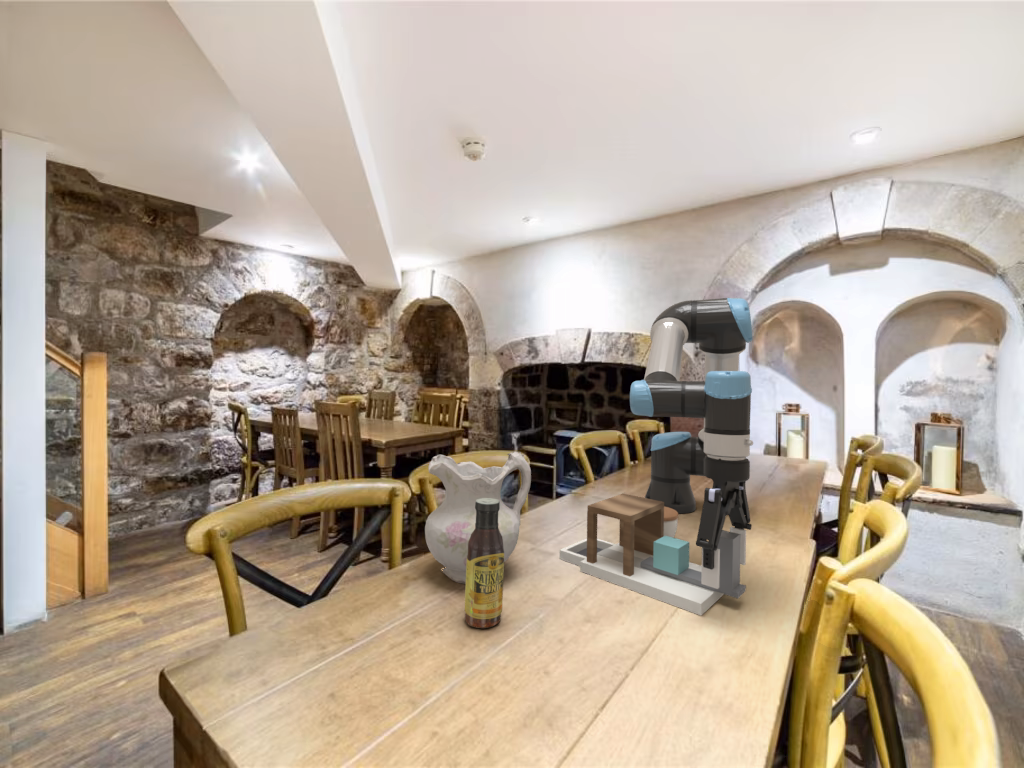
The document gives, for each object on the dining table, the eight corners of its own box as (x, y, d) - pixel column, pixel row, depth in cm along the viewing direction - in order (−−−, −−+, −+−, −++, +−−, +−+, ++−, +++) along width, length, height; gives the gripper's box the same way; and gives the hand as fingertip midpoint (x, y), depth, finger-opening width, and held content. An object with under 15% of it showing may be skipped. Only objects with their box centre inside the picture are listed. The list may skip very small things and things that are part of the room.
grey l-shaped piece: (649, 561, 94) (650, 513, 94) (745, 590, 82) (746, 535, 81) (640, 566, 92) (641, 517, 91) (738, 598, 79) (739, 541, 79)
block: (664, 560, 93) (665, 535, 93) (689, 567, 89) (689, 541, 89) (653, 567, 89) (653, 541, 89) (678, 575, 86) (678, 548, 86)
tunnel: (622, 544, 105) (622, 493, 105) (663, 556, 98) (664, 502, 98) (586, 561, 95) (587, 505, 94) (629, 576, 88) (630, 516, 87)
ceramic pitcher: (506, 552, 107) (503, 446, 108) (549, 579, 90) (544, 452, 91) (415, 569, 98) (413, 453, 99) (444, 603, 80) (440, 461, 81)
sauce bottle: (473, 634, 71) (473, 508, 71) (458, 616, 76) (459, 498, 76) (510, 624, 74) (511, 503, 74) (494, 607, 79) (494, 494, 79)
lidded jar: (629, 546, 109) (629, 507, 109) (635, 532, 119) (635, 496, 119) (676, 553, 105) (677, 512, 105) (678, 537, 115) (679, 500, 115)
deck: (595, 542, 111) (595, 534, 111) (733, 585, 89) (733, 574, 89) (553, 561, 99) (553, 551, 99) (701, 615, 77) (701, 603, 77)
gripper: (723, 469, 70) (720, 605, 71) (769, 451, 88) (767, 559, 89) (675, 462, 75) (674, 589, 76) (728, 446, 93) (727, 549, 94)
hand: (724, 573), depth 82 cm, fingers open, 13 cm apart
